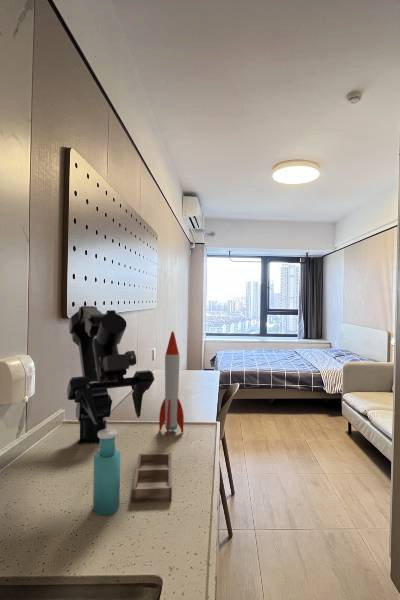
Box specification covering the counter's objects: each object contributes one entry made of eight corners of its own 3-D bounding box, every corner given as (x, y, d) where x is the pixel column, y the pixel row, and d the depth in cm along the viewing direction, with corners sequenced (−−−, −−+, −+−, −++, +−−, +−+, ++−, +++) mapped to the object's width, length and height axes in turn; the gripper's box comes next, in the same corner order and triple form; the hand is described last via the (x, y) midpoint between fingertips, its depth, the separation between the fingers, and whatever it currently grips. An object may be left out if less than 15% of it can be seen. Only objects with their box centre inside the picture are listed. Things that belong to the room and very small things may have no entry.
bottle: (90, 515, 62) (91, 437, 62) (96, 500, 66) (97, 427, 66) (117, 514, 62) (118, 437, 62) (121, 499, 67) (122, 427, 67)
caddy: (132, 502, 66) (132, 489, 66) (138, 464, 81) (139, 453, 81) (171, 501, 66) (171, 487, 66) (170, 463, 82) (171, 452, 82)
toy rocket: (183, 433, 100) (186, 331, 100) (167, 436, 97) (169, 332, 97) (174, 427, 105) (177, 330, 105) (158, 430, 102) (160, 330, 102)
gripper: (70, 340, 72) (78, 411, 63) (153, 336, 81) (170, 397, 72) (64, 367, 79) (70, 433, 70) (140, 361, 88) (154, 419, 80)
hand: (118, 420), depth 73 cm, fingers open, 9 cm apart
